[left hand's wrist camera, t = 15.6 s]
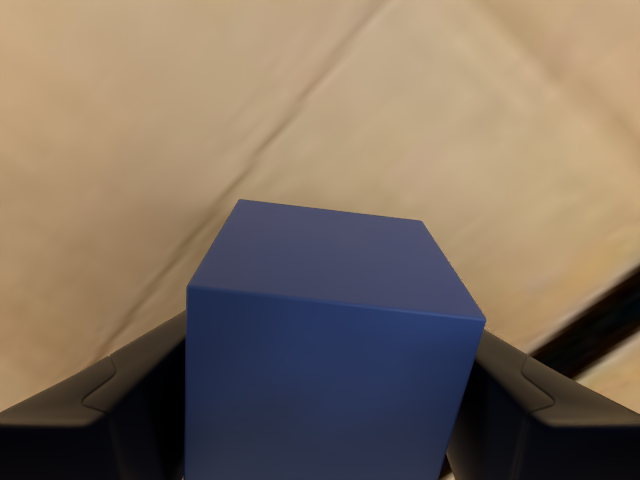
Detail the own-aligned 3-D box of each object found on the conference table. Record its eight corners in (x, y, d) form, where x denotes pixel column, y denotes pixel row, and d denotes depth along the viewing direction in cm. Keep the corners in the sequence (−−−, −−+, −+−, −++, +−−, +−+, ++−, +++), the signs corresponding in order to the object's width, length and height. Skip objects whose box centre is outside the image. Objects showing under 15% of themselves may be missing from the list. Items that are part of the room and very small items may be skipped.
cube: (422, 220, 12) (488, 319, 7) (387, 377, 13) (422, 534, 9) (238, 198, 11) (185, 285, 7) (229, 361, 13) (182, 514, 9)
